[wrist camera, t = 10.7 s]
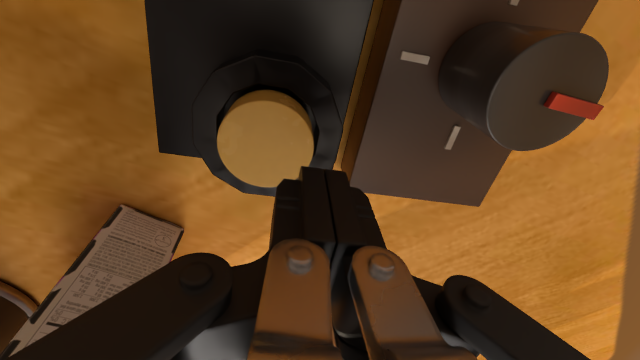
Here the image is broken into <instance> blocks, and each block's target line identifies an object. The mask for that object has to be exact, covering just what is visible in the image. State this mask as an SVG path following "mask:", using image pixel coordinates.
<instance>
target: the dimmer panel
mask: <svg viewBox="0 0 640 360" xmlns="http://www.w3.org/2000/svg"><path fill="white" fill-rule="evenodd" d="M597 2H598V0H384V3H383V7H382V11H381V14H380V18H379V22H378V26H377V30H376V34H375V38H374V41H373V45H372V49H371V53H370V57H369V61H368V64H367V68H366V72H365V76H364V80H363V84H362V87H361V91H360V95H359V99H358V103H357V107H356V111H355V114H354V118H353V122H352V126H351V130H350V134H349V137H348V141H347V145H346V149H345V153H344V157H343V160H342V164H341V169H342V171H344V172H346V174H347V177H348V181H349V184H350V187H355V188H359V189H360V190H361V191H362V192H363V193H371V194H379V195H387V196H396V197H404V198H412V199H420V200H428V201H436V202H444V203H453V204H461V205H469V206H477V207H479V206H480V204H481V202H482V201H483V199H484V197H485V195H486V194H487V192H488V190H489V189H490V187H491V185H492V183H493V182H494V180H495V178H496V176H497V175H498V173H499V171H500V170H501V168H502V166H503V164H504V163H505V161H506V159H507V157H508V156H509V154H510V152H511V151H512V150H510V149H507V148H505V147H503V146H501V145H499V144H498V143H496V142H495V141H494V140H492V139H491V138H490V137H488V136H487V135H486V134H484V133H483V132H482V131H480V130H479V129H478V128H476V127H475V126H474V125H472V124H471V123H469V122H468V121H467V120H465V119H464V118H463V117H461V116H460V115H459V114H457V113H456V112H455V111H453V110H452V109H451V108H449V107H448V106H447V105H446V104H445V102H444V101H443V99H442V97H441V95H440V91H439V72H440V68H441V65H442V62H443V60H444V58H445V56H446V54H447V53H448V51H449V49H450V48H451V47H452V45H453V44H454V43H455V42H456V41H457V40H458V39H459V38H460V37H461V36H462V35H464V34H465V33H466V32H468V31H469V30H471V29H472V28H474V27H476V26H479V25H481V24H484V23H488V22H506V23H513V24H521V25H528V26H535V27H542V28H550V29H557V30H564V31H571V32H578V33H580V31H581V29H582V28H583V26H584V24H585V23H586V21H587V19H588V17H589V16H590V14H591V12H592V10H593V9H594V7H595V5H596V4H597Z"/></svg>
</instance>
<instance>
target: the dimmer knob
mask: <svg viewBox="0 0 640 360" xmlns="http://www.w3.org/2000/svg"><path fill="white" fill-rule="evenodd" d="M608 67H609V65H608V58H607V55H606V52H605V50H604V49H603V47H602V46H601V45H600V43H599V42H598V41H597V40H595V39H594V38H593V37H591V36H589V35H586V34H583V33H578V32H571V31H564V30H557V29H550V28H542V27H535V26H528V25H521V24H513V23H506V22H488V23H484V24H481V25H479V26H476V27H474V28H472V29H471V30H469V31H468V32H466V33H465V34H464V35H462V36H461V37H460V38H459V39H458V40H457V41H456V42H455V43H454V44H453V45H452V47H451V48H450V49H449V51H448V53H447V54H446V56H445V58H444V60H443V62H442V65H441V68H440V72H439V91H440V95H441V97H442V99H443V101H444V102H445V104H446V105H447V106H448V107H449V108H451V109H452V110H453V111H455V112H456V113H457V114H459V115H460V116H461V117H463V118H464V119H465V120H467V121H468V122H469V123H471V124H472V125H474V126H475V127H476V128H478V129H479V130H480V131H482V132H483V133H484V134H486V135H487V136H488V137H490V138H491V139H492V140H494V141H495V142H496V143H498V144H499V145H501V146H503V147H505V148H507V149H510V150H516V151H529V150H535V149H540V148H543V147H546V146H548V145H551V144H553V143H555V142H557V141H559V140H561V139H562V138H564V137H565V136H567V135H568V134H570V133H571V132H572V131H573V130H575V129H576V128H577V127H578V126H579V125H580V124H581V123H582V122H583V121H584V120H585V119H586V118H587V119H591V120H594V119H595V118H596V116H597V115H598V114H599V112H600V111H601V110H602V108H603V107H604V106H602V105H600V104H597V103H598V101H599V100H600V98H601V96H602V94H603V91H604V89H605V86H606V82H607V78H608Z"/></svg>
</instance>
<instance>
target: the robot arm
mask: <svg viewBox="0 0 640 360" xmlns="http://www.w3.org/2000/svg"><path fill="white" fill-rule="evenodd" d="M37 308H38V307H37V305H36V304H35V303H34V302H33V301H32V300H31V299H30V298H29V297H27V296H26V295H25V294H23V293H22V292H20V291H18V290H17V289H15V288H13V287H11V286H9V285H7V284H5V283H2V282H0V354H1V353H2V351H3V350H4V349H5V348H6V347H7V345H8V344H9V343H10V341H11V340H12V339H13V338H14V336H15V335H16V334H17V333H18V331H19V330H20V329H21V328H22V327H23V325H24V324H25V323H26V322H27V320H28V319H29V318H30V317H31V315H32V314H33V313H34V312H35V310H36V309H37ZM331 313H332V314H331ZM479 354H481V355H483V356H484V357H485V358H486V359H487V360H590V359H589V358H587V357H586V356H585V355H583V354H582V353H580V352H579V351H578V350H576V349H575V348H573V347H572V346H571V345H569V344H568V343H566V342H565V341H563V340H562V339H561V338H559V337H558V336H556V335H555V334H554V333H552V332H551V331H549V330H548V329H547V328H545V327H544V326H542V325H541V324H540V323H538V322H537V321H535V320H534V319H532V318H531V317H530V316H528V315H527V314H525V313H524V312H523V311H521V310H520V309H518V308H517V307H516V306H514V305H513V304H511V303H510V302H508V301H507V300H506V299H504V298H503V297H501V296H500V295H499V294H497V293H496V292H494V291H493V290H492V289H490V288H489V287H487V286H486V285H484V284H483V283H481V282H479V281H478V280H476V279H473V278H471V277H467V276H463V275H454V276H451V277H449V278H448V279H447V280H446V281H445V283H444V285H443V286H440V285H437V284H434V283H431V282H428V281H425V280H422V279H420V278H417V277H415V276H412V275H411V274H410V272H409V270H408V268H407V266H406V264H405V263H404V262H403V260H402V259H401V258H400V257H399V256H397V255H396V254H395V253H393V252H391V251H389V250H387V248H386V245H385V243H384V240H383V237H382V234H381V232H380V229H379V226H378V223H377V221H376V219H375V215H374V213H373V210H372V207H371V204H370V202H369V199H368V197H367V196H366V195H365V194H364V193H363V192H362V191H361V190H360V189H359V188H355V187H350V184H349V181H348V177H347V174H346V172H344V171H336V170H329V169H324V170H323V169H321V168H314V167H307V166H301V168H300V172H299V177H298V180H293V179H285V178H284V179H283V180H282V181H281V182H280V183H279V185H278V186H277V189H276V196H275V203H274V209H273V216H272V223H271V233H270V243H269V250H268V252H267V253H266V254H265V255H264V256H263V257H261V258H260V259H258V260H256V261H254V262H251V263H248V264H244V265H238V266H233V267H231V266H230V265H229V264H228V262H227V261H225V260H224V259H223V258H221V257H219V256H217V255H214V254H210V253H192V254H187V255H184V256H181V257H179V258H177V259H175V260H173V261H171V262H170V263H168V264H166V265H165V266H163V267H161V268H160V269H158V270H156V271H154V272H153V273H151V274H149V275H148V276H146V277H144V278H143V279H141V280H139V281H137V282H136V283H134V284H132V285H131V286H129V287H127V288H125V289H124V290H122V291H120V292H119V293H117V294H115V295H114V296H112V297H110V298H108V299H107V300H105V301H103V302H102V303H100V304H98V305H97V306H95V307H93V308H91V309H90V310H88V311H86V312H85V313H83V314H81V315H80V316H78V317H76V318H74V319H73V320H71V321H69V322H68V323H66V324H64V325H62V326H61V327H59V328H57V329H56V330H54V331H52V332H51V333H49V334H47V335H45V336H44V337H42V338H40V339H39V340H37V341H35V342H34V343H32V344H30V345H28V346H27V347H25V348H23V349H22V350H20V351H18V352H16V353H15V354H13V355H11V356H10V357H8V358H6V359H5V360H477V356H478V355H479Z"/></svg>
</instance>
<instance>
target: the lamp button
mask: <svg viewBox="0 0 640 360" xmlns="http://www.w3.org/2000/svg"><path fill="white" fill-rule="evenodd" d="M217 148H218V152H219V155H220V158H221V160H222V162H223V163H224V165H225V166H226V168H227V169H228V170H229V171H230V172H231V173H232V174H233V175H234V176H236V177H237V178H239V179H240V180H242V181H244V182H246V183H248V184H251V185H254V186H259V187H277V186H278V185H279V183H280V182H281V181H282V180H283V179H284V178H285V179H293V180H295V179H297V178H298V177H299V172H300V168H301V166H307V167H308V166H309V164H310V162H311V160H312V156H313V152H314V140H313V132H312V125H311V121H310V118H309V116H308V114H307V112H306V111H305V109H304V108H303V107H302V106H301V104H300V103H299V102H297V101H296V100H295V99H294V98H292V97H291V96H289V95H287V94H285V93H282V92H279V91H275V90H268V89H266V90H256V91H252V92H249V93H247V94H245V95H243V96H241V97H240V98H238V99H237V100H236V101H235V102H234V103H233V104H232V106H231V107H230V109H229V110H228V112H227V114H226V116H225V117H224V119H223V121H222V123H221V125H220V127H219V130H218V134H217Z"/></svg>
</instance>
